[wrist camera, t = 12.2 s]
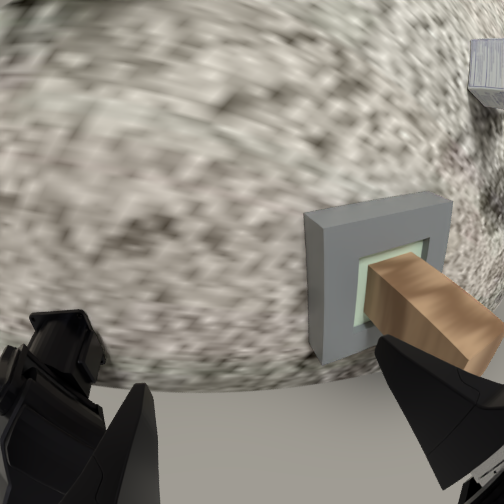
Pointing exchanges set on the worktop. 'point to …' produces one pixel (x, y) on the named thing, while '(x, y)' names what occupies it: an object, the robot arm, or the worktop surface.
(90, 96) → the worktop surface
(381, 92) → the worktop surface
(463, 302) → the post
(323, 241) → the base plate
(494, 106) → the medicine box
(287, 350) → the worktop surface
